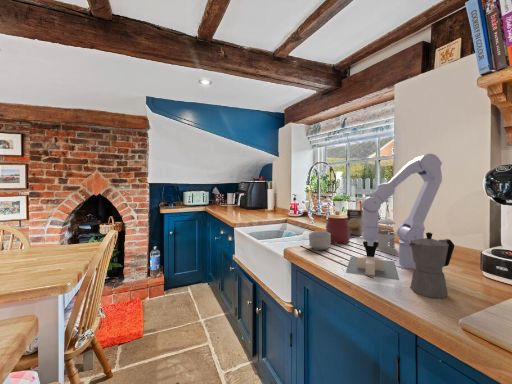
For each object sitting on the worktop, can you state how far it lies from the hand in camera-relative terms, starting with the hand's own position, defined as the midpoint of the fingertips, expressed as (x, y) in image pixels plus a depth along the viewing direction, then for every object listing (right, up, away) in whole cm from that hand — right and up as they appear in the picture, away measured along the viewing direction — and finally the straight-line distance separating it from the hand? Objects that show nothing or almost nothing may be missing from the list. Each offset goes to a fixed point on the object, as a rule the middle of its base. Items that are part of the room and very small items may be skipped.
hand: (370, 259), depth 100 cm
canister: (0, -1, +41) cm, 41 cm away
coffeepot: (+6, -3, -26) cm, 27 cm away
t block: (-4, -2, -9) cm, 10 cm away
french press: (+19, -1, +23) cm, 29 cm away
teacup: (-14, -1, +26) cm, 30 cm away
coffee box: (+18, 0, +60) cm, 62 cm away
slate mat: (-2, -2, -4) cm, 5 cm away
